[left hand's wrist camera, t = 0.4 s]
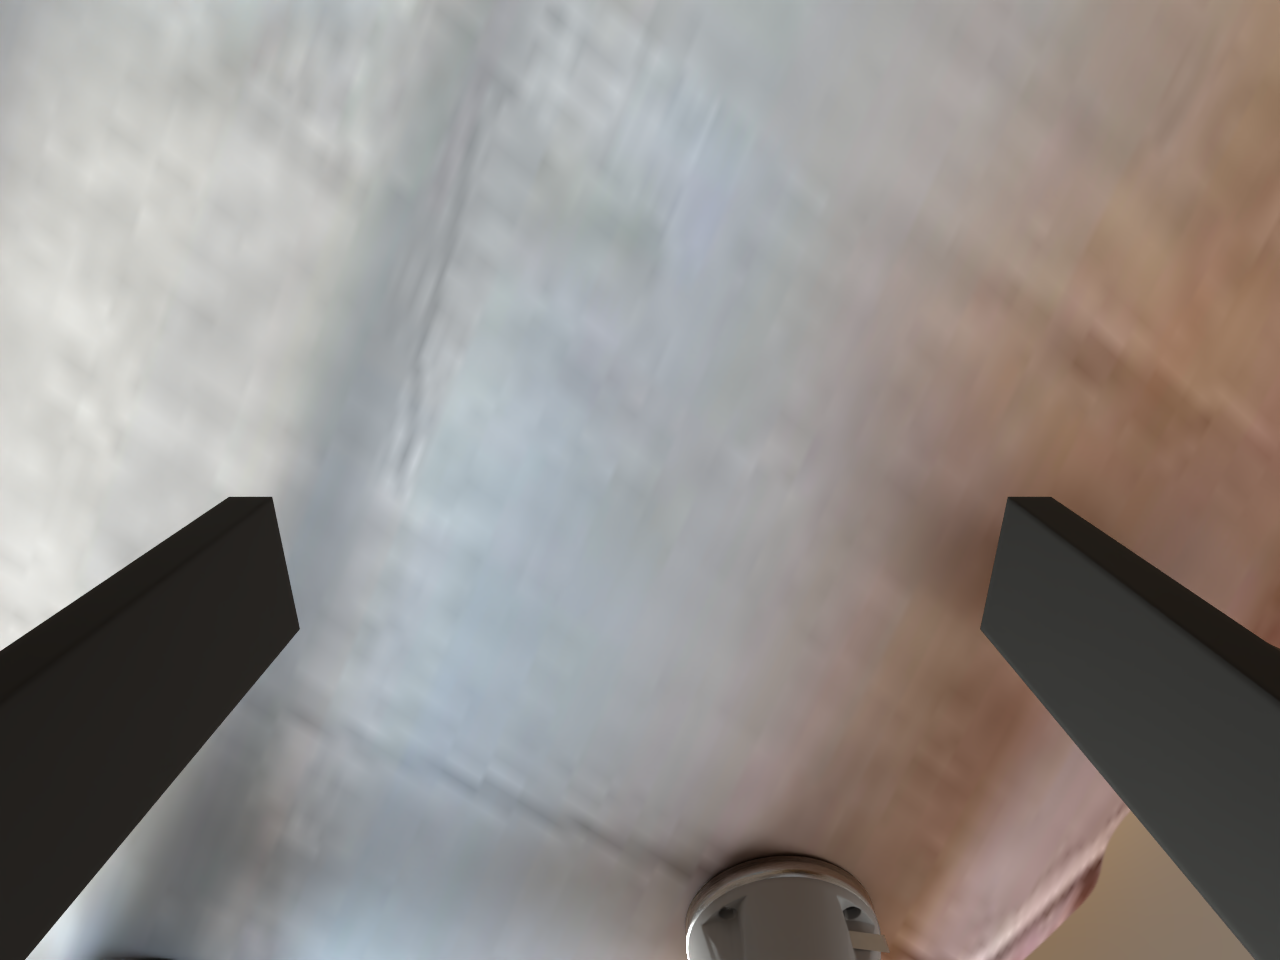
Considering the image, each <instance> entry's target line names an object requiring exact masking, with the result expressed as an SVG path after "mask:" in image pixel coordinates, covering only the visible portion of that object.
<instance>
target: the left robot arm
mask: <svg viewBox="0 0 1280 960" xmlns="http://www.w3.org/2000/svg"><path fill="white" fill-rule="evenodd" d="M299 629H300V628H299V623H298V618H297V614H296V609H295V604H294V599H293V595H292V590H291V585H290V580H289V575H288V571H287V566H286V561H285V556H284V551H283V547H282V542H281V537H280V532H279V528H278V523H277V518H276V513H275V508H274V504H273V499H272V497H228V498H227V499H225V500H224V501H222V502H221V503H219V504H218V505H216V506H215V507H213V508H212V509H210V510H209V511H208V512H206V513H205V514H203V515H202V516H200V517H199V518H197V519H196V520H194V521H193V522H191V523H190V524H188V525H187V526H185V527H184V528H182V529H181V530H179V531H178V532H176V533H175V534H173V535H172V536H170V537H169V538H167V539H166V540H164V541H163V542H162V543H160V544H159V545H157V546H156V547H154V548H153V549H151V550H150V551H148V552H147V553H145V554H144V555H142V556H141V557H139V558H138V559H136V560H135V561H133V562H132V563H130V564H129V565H127V566H126V567H124V568H123V569H121V570H120V571H119V572H117V573H116V574H114V575H113V576H111V577H110V578H108V579H107V580H105V581H104V582H102V583H101V584H99V585H98V586H96V587H95V588H93V589H92V590H90V591H89V592H87V593H86V594H84V595H83V596H81V597H80V598H78V599H77V600H76V601H74V602H73V603H71V604H70V605H68V606H67V607H65V608H64V609H62V610H61V611H59V612H58V613H56V614H55V615H53V616H52V617H50V618H49V619H47V620H46V621H44V622H43V623H41V624H40V625H38V626H37V627H35V628H34V629H33V630H31V631H30V632H28V633H27V634H25V635H24V636H22V637H21V638H19V639H18V640H16V641H15V642H13V643H12V644H10V645H9V646H7V647H6V648H4V649H3V650H1V651H0V960H25V959H26V958H27V957H28V955H29V954H30V953H31V952H32V951H33V949H34V948H35V947H36V946H37V945H38V943H39V942H40V941H41V940H42V939H43V937H44V936H45V935H46V934H47V933H48V931H49V930H50V929H51V928H52V927H53V925H54V924H55V923H56V922H57V921H58V919H59V918H60V917H61V916H62V915H63V913H64V912H65V911H66V910H67V908H68V907H69V906H70V905H71V904H72V902H73V901H74V900H75V899H76V898H77V896H78V895H79V894H80V893H81V892H82V890H83V889H84V888H85V887H86V886H87V884H88V883H89V882H90V881H91V880H92V878H93V877H94V876H95V875H96V874H97V872H98V871H99V870H100V869H101V868H102V866H103V865H104V864H105V863H106V862H107V860H108V859H109V858H110V857H111V856H112V854H113V853H114V852H115V851H116V850H117V848H118V847H119V846H120V845H121V844H122V842H123V841H124V840H125V839H126V838H127V836H128V835H129V834H130V833H131V832H132V830H133V829H134V828H135V827H136V825H137V824H138V823H139V822H140V821H141V819H142V818H143V817H144V816H145V815H146V813H147V812H148V811H149V810H150V809H151V807H152V806H153V805H154V804H155V803H156V801H157V800H158V799H159V798H160V797H161V795H162V794H163V793H164V792H165V791H166V789H167V788H168V787H169V786H170V785H171V783H172V782H173V781H174V780H175V779H176V777H177V776H178V775H179V774H180V773H181V771H182V770H183V769H184V768H185V767H186V765H187V764H188V763H189V762H190V761H191V759H192V758H193V757H194V756H195V755H196V753H197V752H198V751H199V750H200V749H201V747H202V746H203V745H204V744H205V742H206V741H207V740H208V739H209V738H210V736H211V735H212V734H213V733H214V732H215V730H216V729H217V728H218V727H219V726H220V724H221V723H222V722H223V721H224V720H225V718H226V717H227V716H228V715H229V714H230V712H231V711H232V710H233V709H234V708H235V706H236V705H237V704H238V703H239V702H240V700H241V699H242V698H243V697H244V696H245V694H246V693H247V692H248V691H249V690H250V688H251V687H252V686H253V685H254V684H255V682H256V681H257V680H258V679H259V678H260V676H261V675H262V674H263V673H264V672H265V670H266V669H267V668H268V667H269V666H270V664H271V663H272V662H273V661H274V659H275V658H276V657H277V656H278V655H279V653H280V652H281V651H282V650H283V649H284V647H285V646H286V645H287V644H288V643H289V641H290V640H291V639H292V638H293V637H294V635H295V634H296V633H297V632H298V631H299ZM980 629H981V631H982V632H983V633H984V634H985V635H986V637H987V638H988V639H989V640H990V641H991V643H992V644H993V645H994V646H995V647H996V649H997V650H998V651H999V652H1000V653H1001V655H1002V656H1003V657H1004V658H1005V659H1006V661H1007V662H1008V663H1009V664H1010V666H1011V667H1012V668H1013V669H1014V670H1015V672H1016V673H1017V674H1018V675H1019V676H1020V678H1021V679H1022V680H1023V681H1024V682H1025V684H1026V685H1027V686H1028V687H1029V688H1030V690H1031V691H1032V692H1033V693H1034V694H1035V696H1036V697H1037V698H1038V699H1039V700H1040V702H1041V703H1042V704H1043V705H1044V706H1045V708H1046V709H1047V710H1048V711H1049V712H1050V714H1051V715H1052V716H1053V717H1054V718H1055V720H1056V721H1057V722H1058V723H1059V724H1060V726H1061V727H1062V728H1063V729H1064V730H1065V732H1066V733H1067V734H1068V735H1069V736H1070V738H1071V739H1072V740H1073V741H1074V742H1075V744H1076V745H1077V746H1078V747H1079V749H1080V750H1081V751H1082V752H1083V753H1084V755H1085V756H1086V757H1087V758H1088V759H1089V761H1090V762H1091V763H1092V764H1093V765H1094V767H1095V768H1096V769H1097V770H1098V771H1099V773H1100V774H1101V775H1102V776H1103V777H1104V779H1105V780H1106V781H1107V782H1108V783H1109V785H1110V786H1111V787H1112V788H1113V789H1114V791H1115V792H1116V793H1117V794H1118V795H1119V797H1120V798H1121V799H1122V800H1123V801H1124V803H1125V804H1126V805H1127V806H1128V807H1129V809H1130V810H1131V811H1132V812H1133V813H1134V815H1135V816H1136V817H1137V818H1138V819H1139V821H1140V822H1141V823H1142V824H1143V825H1144V827H1145V828H1146V829H1147V830H1148V831H1149V833H1150V834H1151V835H1152V836H1153V837H1154V839H1155V840H1156V841H1157V842H1158V844H1159V845H1160V846H1161V847H1162V848H1163V850H1164V851H1165V852H1166V853H1167V854H1168V856H1169V857H1170V858H1171V859H1172V860H1173V862H1174V863H1175V864H1176V865H1177V866H1178V868H1179V869H1180V870H1181V871H1182V872H1183V874H1184V875H1185V876H1186V877H1187V878H1188V880H1189V881H1190V882H1191V883H1192V884H1193V886H1194V887H1195V888H1196V889H1197V890H1198V892H1199V893H1200V894H1201V895H1202V896H1203V898H1204V899H1205V900H1206V901H1207V902H1208V904H1209V905H1210V906H1211V907H1212V908H1213V910H1214V911H1215V912H1216V913H1217V914H1218V916H1219V917H1220V918H1221V919H1222V920H1223V922H1224V923H1225V924H1226V925H1227V927H1228V928H1229V929H1230V930H1231V931H1232V933H1233V934H1234V935H1235V936H1236V937H1237V939H1238V940H1239V941H1240V942H1241V943H1242V945H1243V946H1244V947H1245V948H1246V949H1247V951H1248V952H1249V953H1250V954H1251V955H1252V957H1253V958H1254V959H1255V960H1280V649H1279V648H1277V647H1275V646H1273V645H1270V644H1268V643H1267V642H1265V641H1264V640H1262V639H1261V638H1259V637H1258V636H1256V635H1255V634H1253V633H1252V632H1250V631H1249V630H1247V629H1246V628H1245V627H1243V626H1242V625H1240V624H1239V623H1237V622H1236V621H1234V620H1233V619H1231V618H1230V617H1228V616H1227V615H1225V614H1224V613H1222V612H1221V611H1219V610H1218V609H1216V608H1215V607H1213V606H1212V605H1210V604H1209V603H1207V602H1206V601H1204V600H1203V599H1202V598H1200V597H1199V596H1197V595H1196V594H1194V593H1193V592H1191V591H1190V590H1188V589H1187V588H1185V587H1184V586H1182V585H1181V584H1179V583H1178V582H1176V581H1175V580H1173V579H1172V578H1170V577H1169V576H1167V575H1166V574H1164V573H1163V572H1161V571H1160V570H1159V569H1157V568H1156V567H1154V566H1153V565H1151V564H1150V563H1148V562H1147V561H1145V560H1144V559H1142V558H1141V557H1139V556H1138V555H1136V554H1135V553H1133V552H1132V551H1130V550H1129V549H1127V548H1126V547H1124V546H1123V545H1121V544H1120V543H1118V542H1117V541H1116V540H1114V539H1113V538H1111V537H1110V536H1108V535H1107V534H1105V533H1104V532H1102V531H1101V530H1099V529H1098V528H1096V527H1095V526H1093V525H1092V524H1090V523H1089V522H1087V521H1086V520H1084V519H1083V518H1081V517H1080V516H1078V515H1077V514H1075V513H1074V512H1072V511H1071V510H1070V509H1068V508H1067V507H1065V506H1064V505H1062V504H1061V503H1059V502H1058V501H1056V500H1055V499H1053V498H1052V497H1008V499H1007V504H1006V508H1005V513H1004V518H1003V523H1002V528H1001V532H1000V537H999V542H998V547H997V551H996V556H995V561H994V566H993V571H992V575H991V580H990V585H989V590H988V594H987V599H986V604H985V609H984V614H983V618H982V623H981V628H980ZM685 928H686V945H687V955H688V959H689V960H881V952H887V953H890V951H889V948H888V945H887V942H886V940H885V937H884V935H880V927H879V924H878V921H877V918H876V915H875V912H874V909H873V906H872V903H871V900H870V897H869V895H868V893H867V892H866V890H865V889H864V887H863V886H862V885H861V884H860V883H859V882H858V881H857V880H856V879H855V878H854V877H853V876H852V875H850V874H849V873H847V872H846V871H844V870H842V869H841V868H839V867H837V866H835V865H832V864H830V863H827V862H824V861H821V860H817V859H813V858H808V857H800V856H773V857H765V858H759V859H755V860H751V861H747V862H744V863H741V864H739V865H736V866H734V867H731V868H729V869H727V870H726V871H724V872H722V873H720V874H719V875H717V876H716V877H714V878H713V879H712V880H710V881H709V882H708V883H707V884H706V885H705V886H703V887H702V889H701V890H700V891H699V892H698V893H697V895H696V896H695V897H694V899H693V901H692V902H691V904H690V907H689V909H688V912H687V916H686V923H685Z"/></svg>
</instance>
